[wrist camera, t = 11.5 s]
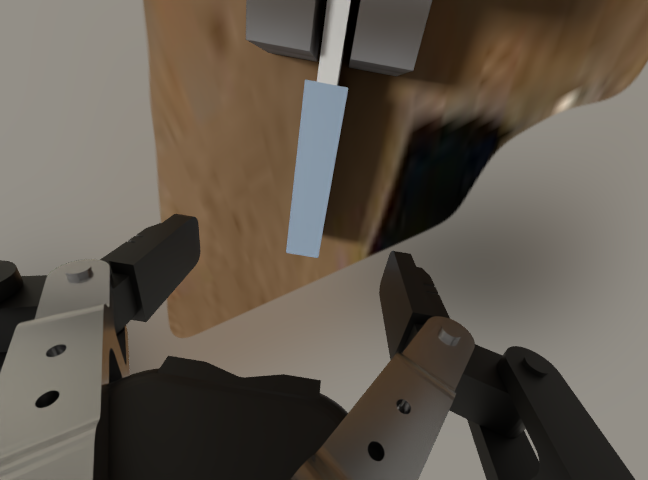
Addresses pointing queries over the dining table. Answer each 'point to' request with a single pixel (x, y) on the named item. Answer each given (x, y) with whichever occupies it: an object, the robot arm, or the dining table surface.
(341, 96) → the blue and white bar
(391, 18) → the brown and grey stand
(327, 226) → the dining table surface
